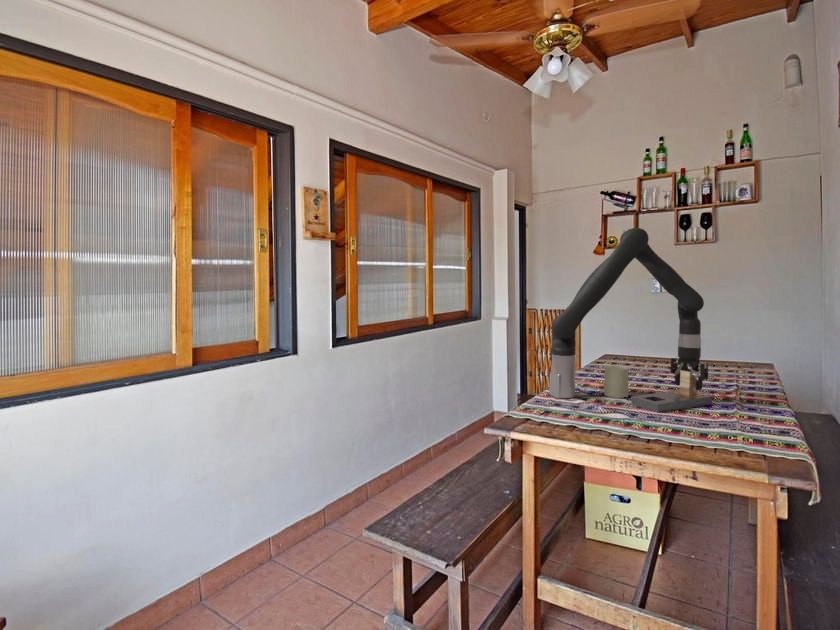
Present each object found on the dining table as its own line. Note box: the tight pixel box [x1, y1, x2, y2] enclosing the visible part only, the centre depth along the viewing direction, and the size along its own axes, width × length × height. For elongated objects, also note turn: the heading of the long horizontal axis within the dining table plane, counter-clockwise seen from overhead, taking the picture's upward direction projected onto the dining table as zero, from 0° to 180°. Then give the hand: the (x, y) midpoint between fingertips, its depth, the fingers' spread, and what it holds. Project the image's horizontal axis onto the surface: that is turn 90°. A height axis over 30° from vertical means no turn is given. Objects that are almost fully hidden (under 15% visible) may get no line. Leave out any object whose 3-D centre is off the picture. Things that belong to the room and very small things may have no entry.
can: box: [603, 365, 630, 399], centre depth 188 cm, size 9×9×12 cm
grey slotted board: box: [630, 389, 713, 414], centre depth 174 cm, size 27×12×3 cm, turn 110°
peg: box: [679, 370, 698, 396], centre depth 176 cm, size 4×4×12 cm
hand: (688, 387), depth 176 cm, fingers open, 8 cm apart
